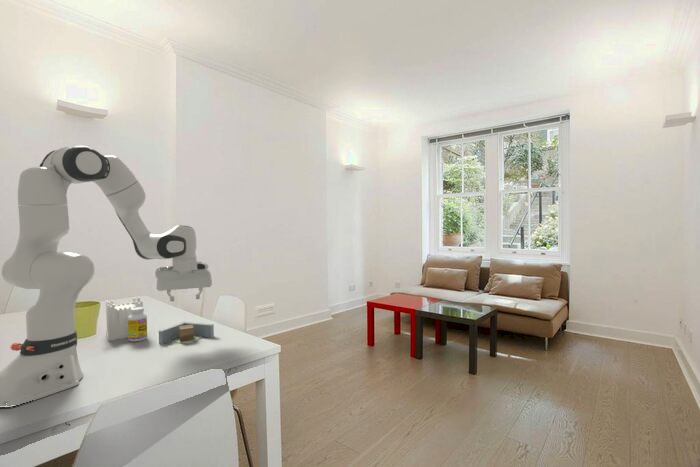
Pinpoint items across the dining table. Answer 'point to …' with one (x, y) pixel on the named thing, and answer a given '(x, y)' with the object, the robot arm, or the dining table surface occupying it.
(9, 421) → the dining table surface
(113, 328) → the castle model
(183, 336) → the walnut cube
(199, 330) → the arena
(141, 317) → the supplement bottle
